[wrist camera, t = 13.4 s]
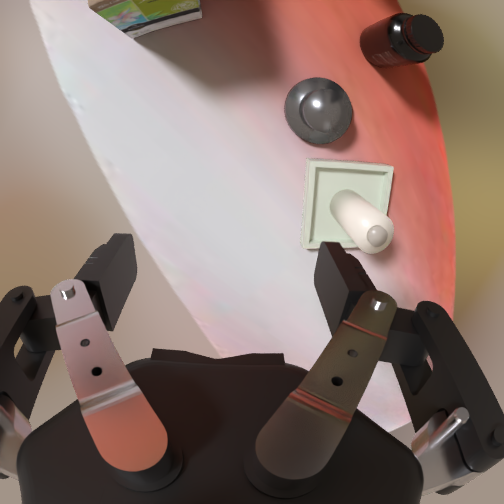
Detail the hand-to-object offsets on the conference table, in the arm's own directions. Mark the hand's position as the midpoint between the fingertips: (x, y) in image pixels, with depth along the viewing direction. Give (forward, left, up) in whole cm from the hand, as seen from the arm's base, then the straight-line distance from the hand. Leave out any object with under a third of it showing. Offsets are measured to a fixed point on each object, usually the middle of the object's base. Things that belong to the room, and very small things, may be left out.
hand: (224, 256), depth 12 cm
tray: (+7, +17, -28) cm, 34 cm away
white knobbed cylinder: (+7, +17, -27) cm, 33 cm away
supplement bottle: (-17, +21, -28) cm, 39 cm away
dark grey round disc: (-6, +12, -28) cm, 31 cm away
